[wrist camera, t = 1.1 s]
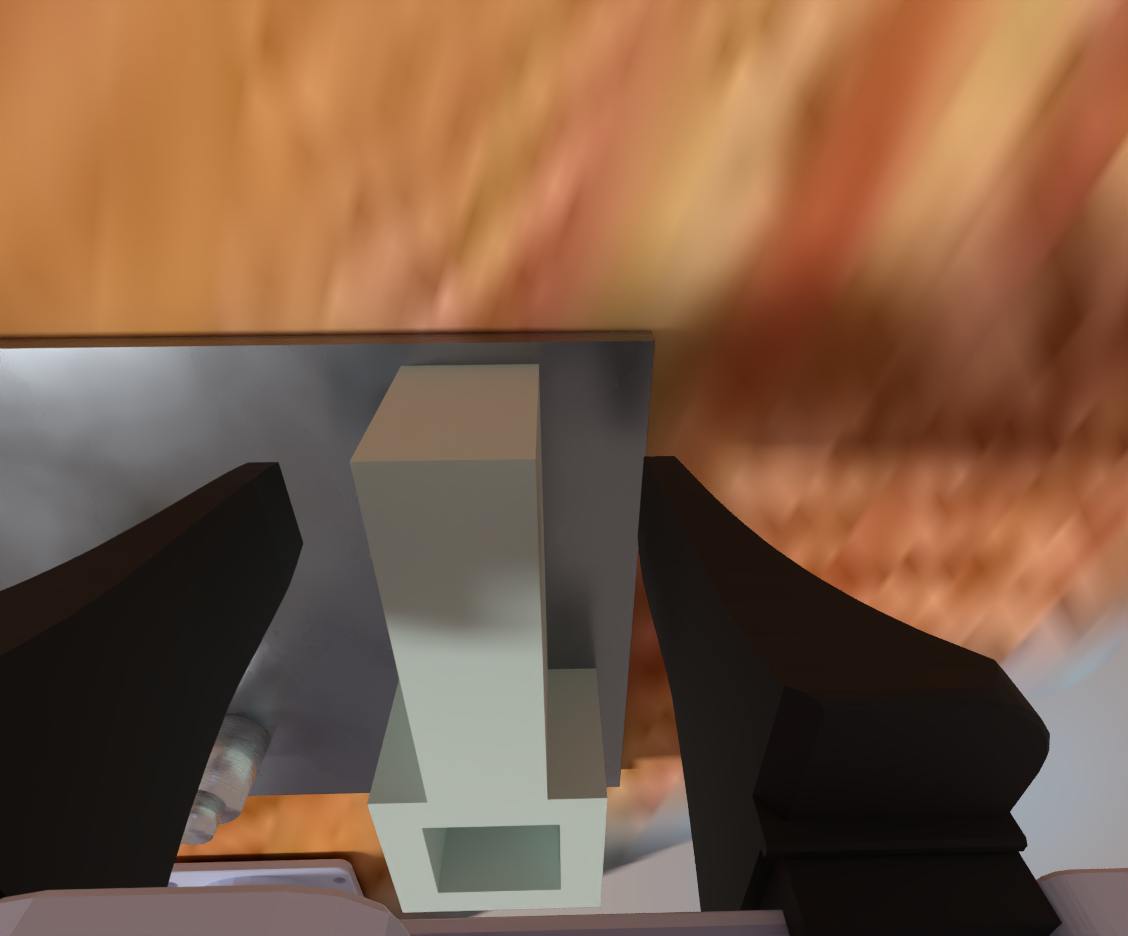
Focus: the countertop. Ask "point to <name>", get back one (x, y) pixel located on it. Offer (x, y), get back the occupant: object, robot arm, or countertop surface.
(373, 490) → the link
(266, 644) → the base plate
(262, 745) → the silver calibration weight
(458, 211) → the countertop surface
